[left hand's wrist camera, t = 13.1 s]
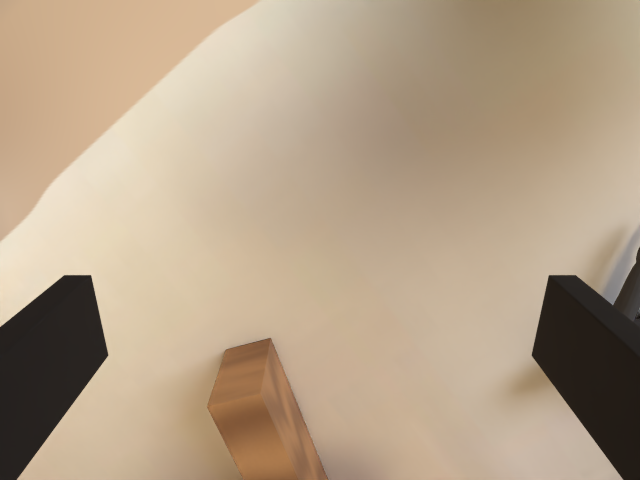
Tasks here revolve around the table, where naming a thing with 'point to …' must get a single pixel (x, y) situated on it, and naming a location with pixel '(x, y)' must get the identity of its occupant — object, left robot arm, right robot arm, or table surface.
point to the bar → (262, 417)
